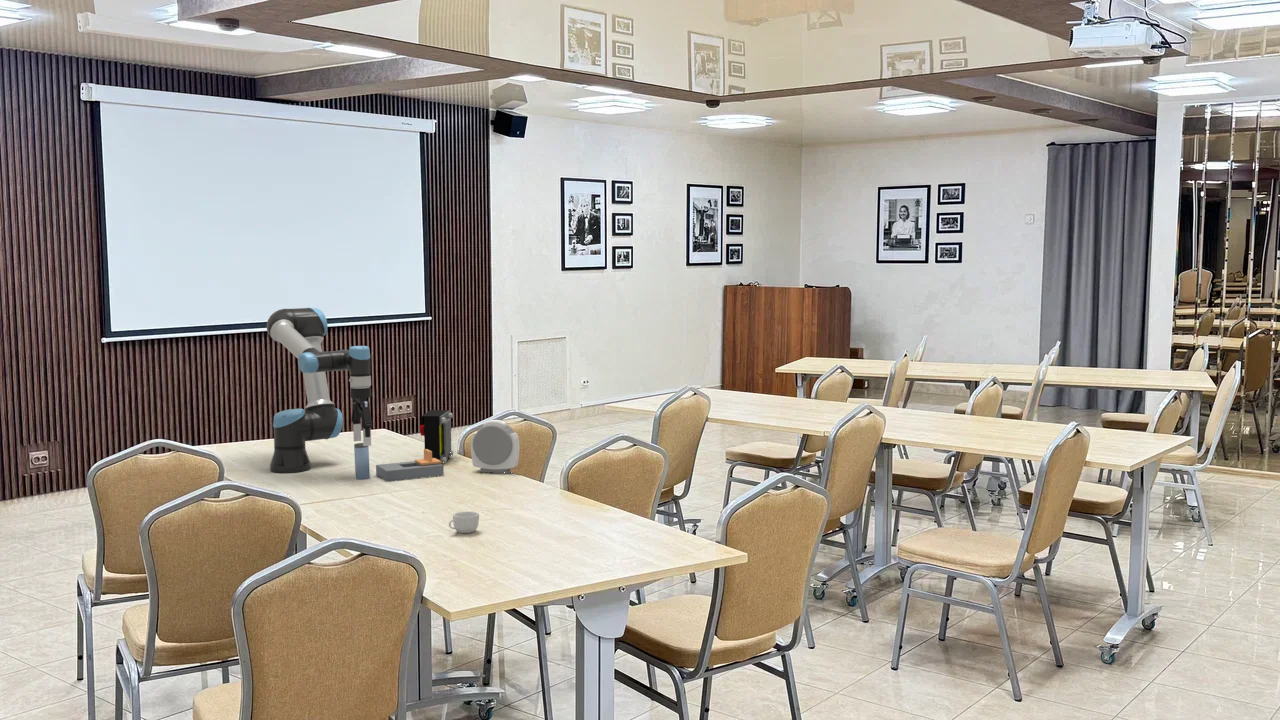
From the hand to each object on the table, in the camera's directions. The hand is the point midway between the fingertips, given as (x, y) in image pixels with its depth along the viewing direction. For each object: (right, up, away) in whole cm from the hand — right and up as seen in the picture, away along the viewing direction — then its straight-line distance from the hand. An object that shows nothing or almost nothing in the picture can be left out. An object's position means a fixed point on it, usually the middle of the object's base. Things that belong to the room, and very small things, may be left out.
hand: (362, 443), depth 394 cm
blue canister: (0, -13, +1) cm, 13 cm away
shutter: (+23, -8, +10) cm, 26 cm away
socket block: (+16, -13, +6) cm, 22 cm away
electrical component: (+21, -10, +36) cm, 43 cm away
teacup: (+51, -21, -79) cm, 97 cm away
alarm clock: (+48, -12, +13) cm, 52 cm away
